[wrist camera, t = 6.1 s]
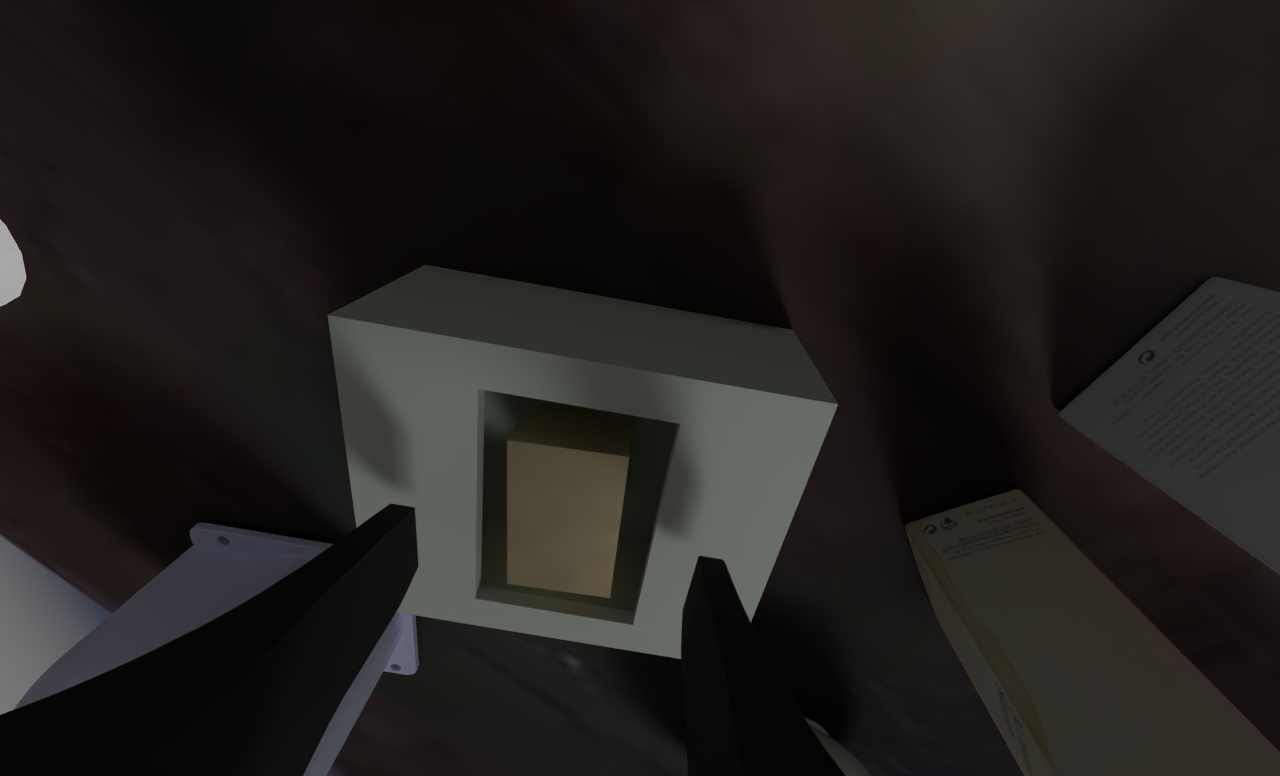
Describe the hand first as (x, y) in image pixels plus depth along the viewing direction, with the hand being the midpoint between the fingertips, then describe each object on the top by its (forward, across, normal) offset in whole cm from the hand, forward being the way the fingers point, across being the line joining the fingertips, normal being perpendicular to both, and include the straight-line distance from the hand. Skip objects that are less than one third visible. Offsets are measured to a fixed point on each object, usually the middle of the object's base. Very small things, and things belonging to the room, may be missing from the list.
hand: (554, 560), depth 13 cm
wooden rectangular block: (+6, 0, 0) cm, 6 cm away
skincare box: (+7, -16, +3) cm, 18 cm away
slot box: (+6, 0, 0) cm, 6 cm away
